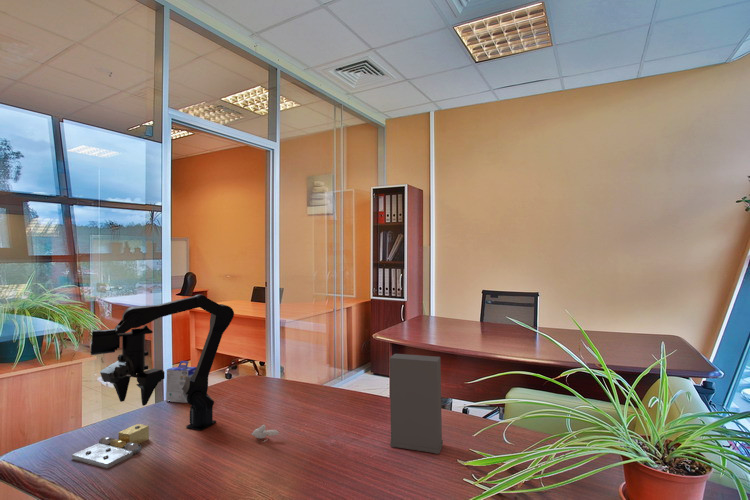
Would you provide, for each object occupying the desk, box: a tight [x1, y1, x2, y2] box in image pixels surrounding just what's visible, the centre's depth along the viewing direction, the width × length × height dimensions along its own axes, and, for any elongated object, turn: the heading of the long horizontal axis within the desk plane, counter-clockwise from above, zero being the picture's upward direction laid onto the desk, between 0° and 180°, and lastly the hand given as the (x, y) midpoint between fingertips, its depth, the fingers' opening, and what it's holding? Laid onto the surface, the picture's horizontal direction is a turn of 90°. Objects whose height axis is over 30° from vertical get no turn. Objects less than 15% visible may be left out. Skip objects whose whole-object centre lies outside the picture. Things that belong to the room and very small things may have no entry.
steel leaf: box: [71, 436, 142, 470], centre depth 104 cm, size 14×9×2 cm
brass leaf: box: [110, 423, 150, 449], centre depth 111 cm, size 4×8×4 cm, turn 159°
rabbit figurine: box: [250, 424, 280, 443], centre depth 112 cm, size 6×4×8 cm
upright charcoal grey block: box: [389, 353, 444, 455], centre depth 108 cm, size 14×6×25 cm, turn 71°
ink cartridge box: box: [165, 360, 197, 404], centre depth 146 cm, size 10×6×14 cm, turn 78°
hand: (133, 403), depth 112 cm, fingers open, 9 cm apart
